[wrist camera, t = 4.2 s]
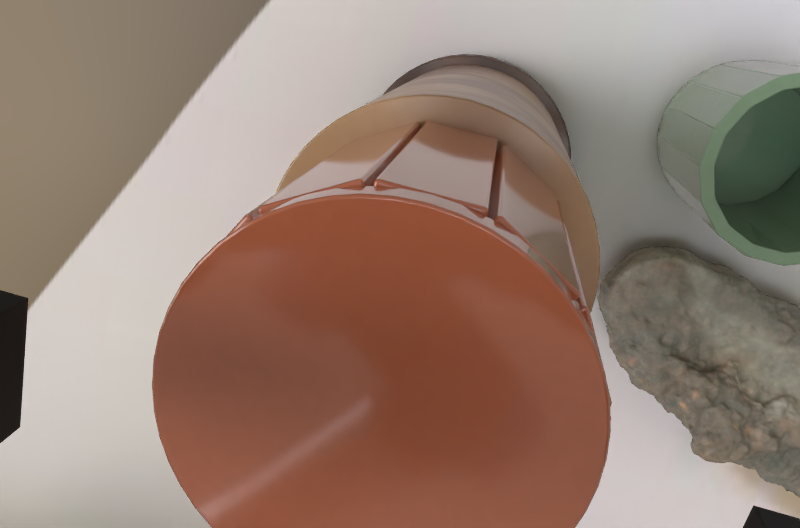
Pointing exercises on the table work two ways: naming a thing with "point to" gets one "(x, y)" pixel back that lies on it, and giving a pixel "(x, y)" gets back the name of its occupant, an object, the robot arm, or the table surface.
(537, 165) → the towel holder
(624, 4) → the table surface
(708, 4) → the table surface
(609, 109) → the table surface
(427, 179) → the terracotta cylinder
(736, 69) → the green cup
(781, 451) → the elongated rock
